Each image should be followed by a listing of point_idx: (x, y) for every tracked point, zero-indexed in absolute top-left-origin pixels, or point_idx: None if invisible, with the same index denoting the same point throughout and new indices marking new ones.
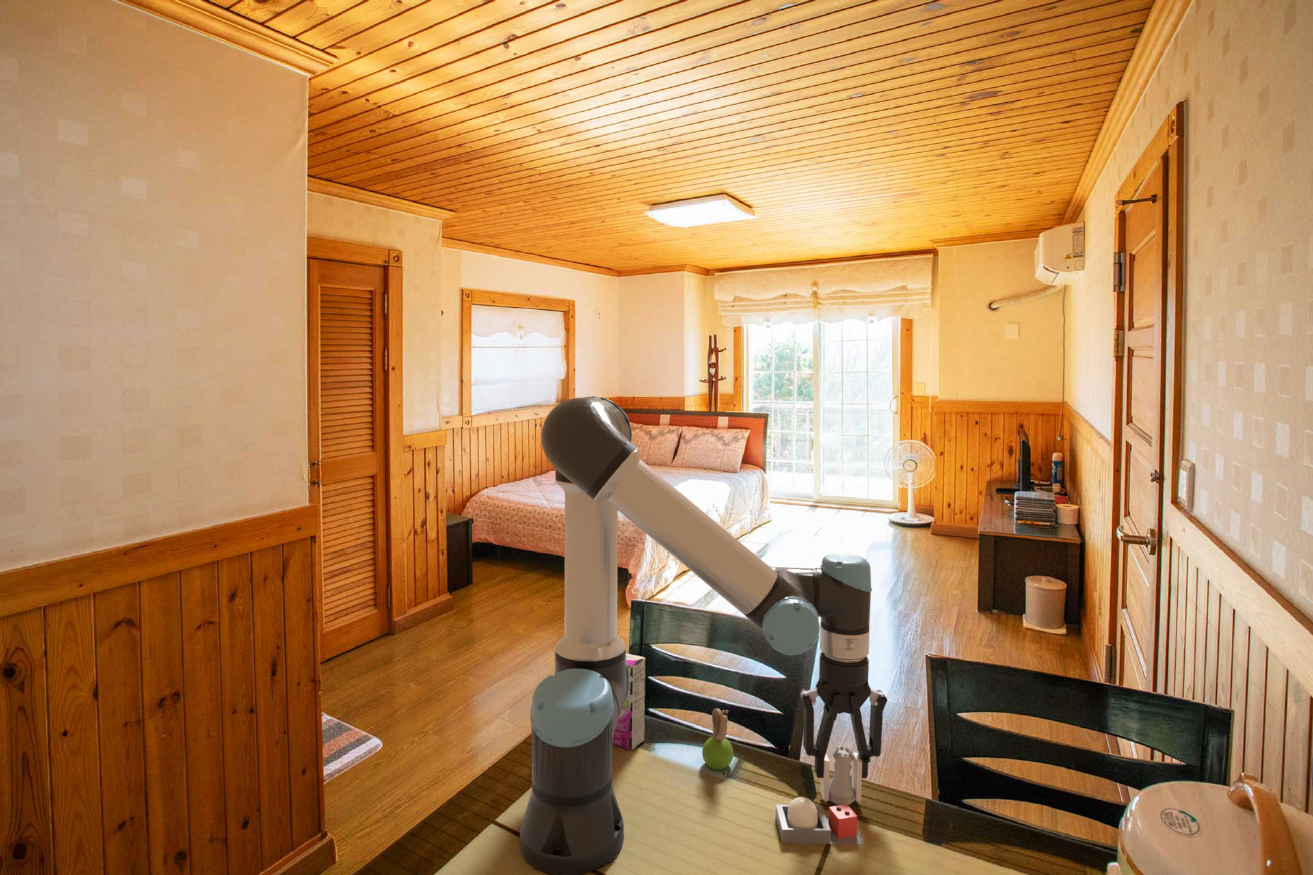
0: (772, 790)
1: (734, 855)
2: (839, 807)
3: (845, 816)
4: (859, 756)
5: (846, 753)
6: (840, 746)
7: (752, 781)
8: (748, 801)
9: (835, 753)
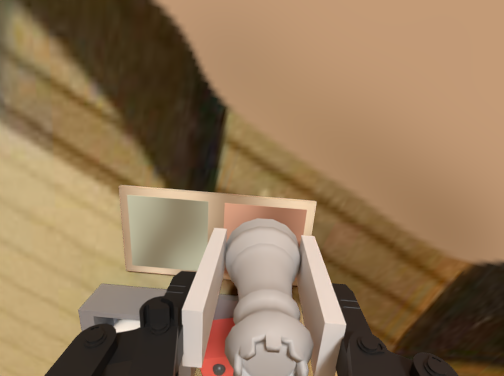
0: (100, 176)
1: (25, 360)
2: (219, 373)
3: None
4: (339, 355)
5: (280, 372)
6: (267, 345)
7: (45, 131)
8: (40, 217)
9: (233, 357)
